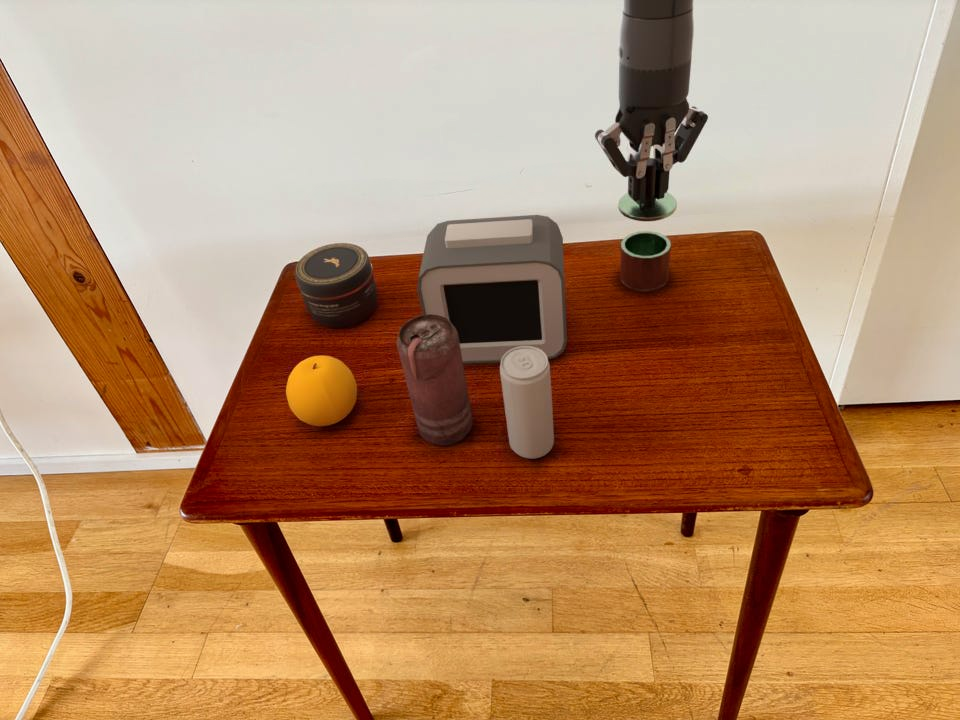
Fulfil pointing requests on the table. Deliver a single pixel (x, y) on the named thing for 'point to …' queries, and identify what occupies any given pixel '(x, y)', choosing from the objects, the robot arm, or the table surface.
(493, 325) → the alarm clock
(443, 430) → the can
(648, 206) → the lid
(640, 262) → the pot
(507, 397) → the beverage can
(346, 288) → the jar
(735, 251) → the table surface
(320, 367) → the orange
